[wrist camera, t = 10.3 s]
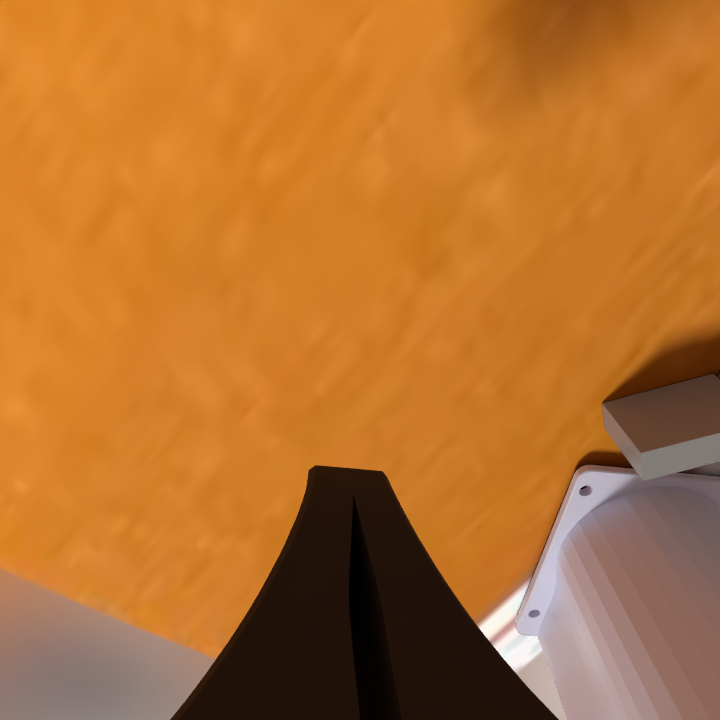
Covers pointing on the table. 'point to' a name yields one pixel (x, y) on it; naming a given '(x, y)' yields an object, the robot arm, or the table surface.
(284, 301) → the table surface
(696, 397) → the bent grey bar frame
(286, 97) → the table surface
